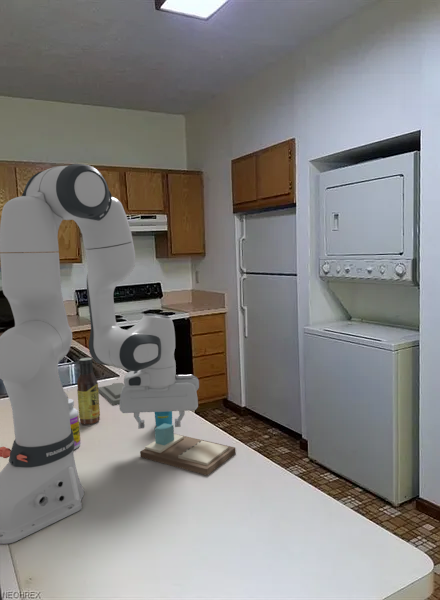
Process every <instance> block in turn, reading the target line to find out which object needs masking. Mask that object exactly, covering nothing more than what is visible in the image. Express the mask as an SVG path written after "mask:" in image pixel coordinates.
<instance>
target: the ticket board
mask: <svg viewBox="0 0 440 600" xmlns="http://www.w3.org/2000/svg"><path fill="white" fill-rule="evenodd" d="M176 434H177V433H176ZM177 435H179V434H177ZM180 435H181V434H180ZM181 436H184V439H182V440H181V441H179V442H177V443H176V444H174V445H172V446H171V447H169V448H168V449H166V450H164V451H163V452H161V453H158V452H154V451H150V450H147V449H145V448H143V449H141V450H140V451H139V455H140V456H139V457H140V458H142V459H146V460H150V461H153V462H156V463H157V462H158V463H159V464H160V463H161V464H163V465H164V464H165V465H168V466H172V467H175V468H178V469H181V470H185V471H190V472H193V473H197V474H201V475H204V476H209V475H210V474H211V473H212V472H214V471H215V470H216V469H217V468H219V467H220V466H222V465H223V464H224V463H225V462H226V461H228V460H229V459H230V458H231V457H232V456H234V455H236V452H237V451H236V447H234V446H230V445H227V444H226V445H225V444H221V443H219V442H218V443H217V442H213V441H208V440H203V439H199V438H195V437H190V436H187V435H181Z"/></svg>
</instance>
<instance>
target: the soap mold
mask: <svg viewBox="0 0 440 600" xmlns="http://www.w3.org/2000/svg"><path fill="white" fill-rule="evenodd" d="M123 386H124V382H116V383H115V382H114V383H112V384H110V385H104V386H98V392H99V394H100V395H101V394H102V395H103V396H104V397H105V398H106V399H107V400H108V403H110V405H112V406H118V405H120V396H121V391H122V388H123ZM102 395H101V396H102ZM103 396H102V397H103ZM104 397H103V398H104ZM105 398H104V399H105ZM106 399H105V400H106ZM107 400H106V401H107ZM117 404H118V405H117Z"/></svg>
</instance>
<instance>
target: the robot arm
mask: <svg viewBox="0 0 440 600" xmlns="http://www.w3.org/2000/svg"><path fill="white" fill-rule="evenodd" d="M63 220H65V221H71V220H73V221H74V222H75V223H76V225H77V226H78V227H79V231H80V233H81V236H82V242H83V247H84V252H85V259H86V265H87V274H86V293H87V294H86V295H87V302H88V303H87V304H88V312H89V322H90V334H89V339H88V352H89V355H90V356H91V357H90V358H92V360H93V361H94V362H95V363H97V364H98V365H100V366H109V367H113V368H117V369H120V370H124V371H127V373H126V374H125V375H124V377H123V384H124V386H123V388H122V391H121V396H120V404H119V411H120V412H121V413H122V414H133V417H134V419H135V420H136V422H137V424H138V425H137V426H138V429H140V430H141V429H145V419H141V417H140V414H141V413H155V412H166V411H172V412H178V415H179V416H178V417H177V418H174V427H175V428H180V427H181V421H182V420H183V418H184V416H186V414H185V411H186V412H187V411H188V412H189V411H191V412H192V411H196V410H197V409H198V408H199V399H198V393H197V391H198V390H199V389H200V380H199V378H198V377H197V376H196V375H195V376H194V374H176V373H177V372H176V369H177V367H176V365H177V364H176V360H175V349H176V331H175V326H174V322H173V320H172V318H171V317H170V316H167V315H164V314H163V315H162V314H157V313H145V314H143V315H142V318H141V319H140V320H139V321H138V322H137V323H135V325H133V326H132V327H129V328H127V329H125V328H124V329H123V328H121V327H120V326H119V324H118V323H117V320H116V313H115V312H116V311H115V310H116V309H115V302H114V301H115V300H114V292H115V289H116V287H118V285H119V284H120V283H122V282H123V281H126V280H127V278H128V277H129V276H130V275H131V274H132V272H133V271H134V269H135V267H136V251H135V249H136V248H135V246H134V239H133V234H132V230H131V227H130V222H129V221H128V217H127V213H126V211H125V209H124V206H123V204H122V202H121V201H120V200H119V199H118V198H116V197H114V196H113V195H112V193H111V191H110V189H109V186H108V183H107V181H106V179H105V178H104V176H103V175H102V173H101V172H100V171H99V170H98V169H97V168H95V167H94V166H91V165H88V164H85V163H84V164H83V163H72V164H69V165H58V166H53V167H51V168H48V169H46V170H41V171H38V172H37V173H35V174H34V175H32V176H31V178H29V179H28V181H27V182H26V185H25V187H24V189H23V192H22V194H21V196H16V197H14V198H12V199H10V200H8V201H6V202H5V204H4V205H3V207H2V210H1V217H0V270H1V271H0V273H1V288H2V293H3V295H4V296H5V298H6V299H7V301H8V303H9V305H10V308H11V312H12V315H13V319H14V326H13V327H11V328H8V329H7V330H5V331H4V332H3V333H2V334H1V335H0V380H2V383H3V385H4V388H5V391H6V393H7V395H8V399H9V401H10V407H11V411H12V412H11V413H12V420H13V430H14V440H13V443H12V445H11V448H9V447H6V446H0V458H3V459H8V462H7V464H6V465H5V466H4V468H2V469H1V471H0V545H1V544H2V545H3V544H4V545H5V544H13V543H15V542H19V540H21V539H24V538H25V537H28V536H30V535H32V534H34V533H36V532H38V531H40V530H43V529H44V528H46V527H49V526H51V525H52V524H54V523H57V522H58V521H60V520H63V519H64V518H67V517H69V516H71V515H73V514H75V513H77V512H79V511H80V510H82V509H83V506H82V505H83V504H82V499H83V497H84V495H85V490H84V488H83V486H82V483H81V480H80V476H79V473H78V469H77V466H76V465H77V464H76V460H75V454H74V450H75V449H74V436H73V431H72V430H71V426H70V414H69V403H68V399H69V397H68V394H67V393H66V392H65V390H64V387H63V384H62V382H61V378H60V375H59V374H60V373H59V363H60V361H61V360H63V359H64V358H65V357H66V356H67V354H68V353H69V351H70V348H71V345H72V342H73V331H72V328H71V326H70V325H69V319H68V315H67V311H66V306H65V303H64V298H63V293H62V285H61V284H62V282H61V281H62V280H61V269H60V268H61V267H60V253H59V252H60V248H59V238H58V237H59V236H58V235H59V229H60V226H61V224H62V222H63ZM73 449H74V450H73Z"/></svg>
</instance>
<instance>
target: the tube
mask: <svg viewBox="0 0 440 600" xmlns="http://www.w3.org/2000/svg"><path fill="white" fill-rule="evenodd" d="M154 418H155V420H154V421H155V427H158V426H160V425H162V424H164V423H166V424H171V425H173V411H166V412H154Z"/></svg>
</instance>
